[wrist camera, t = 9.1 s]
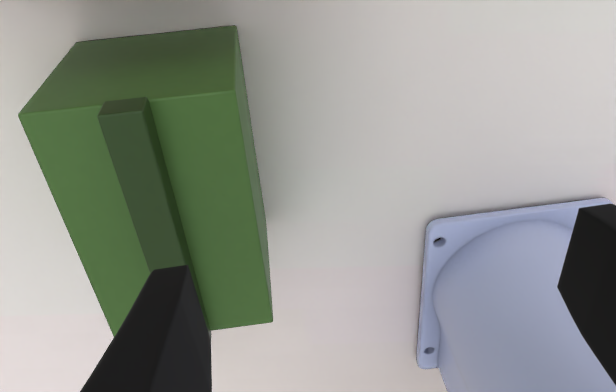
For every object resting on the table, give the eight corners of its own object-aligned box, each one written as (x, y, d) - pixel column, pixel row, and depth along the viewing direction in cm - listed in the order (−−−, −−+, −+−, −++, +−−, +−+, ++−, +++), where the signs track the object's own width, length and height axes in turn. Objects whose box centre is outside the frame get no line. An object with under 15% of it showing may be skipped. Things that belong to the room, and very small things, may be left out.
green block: (266, 226, 21) (275, 345, 16) (142, 242, 21) (112, 367, 16) (235, 21, 16) (234, 100, 11) (74, 38, 16) (1, 126, 11)
